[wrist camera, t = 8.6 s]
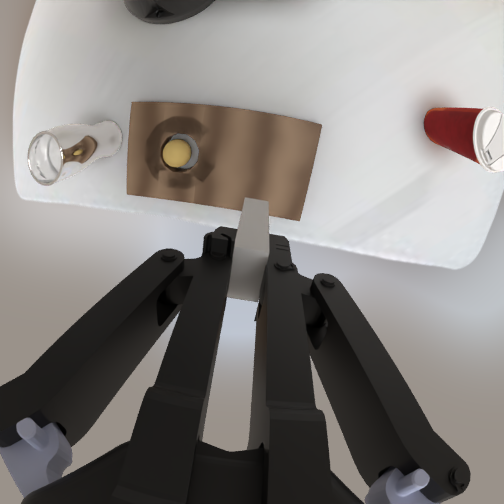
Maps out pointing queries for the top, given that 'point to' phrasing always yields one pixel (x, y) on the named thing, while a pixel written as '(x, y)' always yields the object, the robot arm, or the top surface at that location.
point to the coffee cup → (469, 134)
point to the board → (222, 156)
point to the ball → (176, 153)
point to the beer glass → (71, 149)
